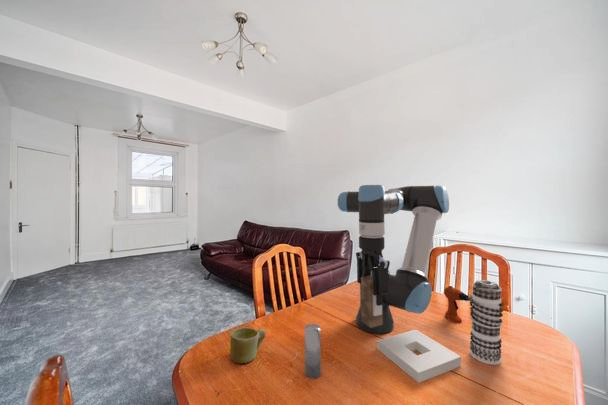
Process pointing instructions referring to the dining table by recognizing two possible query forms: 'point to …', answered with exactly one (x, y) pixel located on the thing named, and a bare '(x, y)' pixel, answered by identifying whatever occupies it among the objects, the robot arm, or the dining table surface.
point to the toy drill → (454, 303)
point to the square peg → (369, 303)
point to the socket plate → (418, 366)
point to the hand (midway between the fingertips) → (371, 311)
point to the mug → (245, 344)
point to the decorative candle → (486, 322)
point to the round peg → (312, 350)
